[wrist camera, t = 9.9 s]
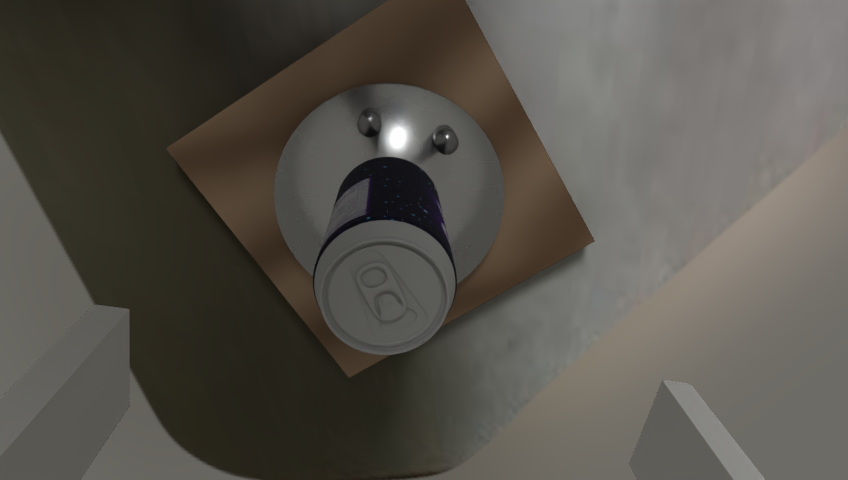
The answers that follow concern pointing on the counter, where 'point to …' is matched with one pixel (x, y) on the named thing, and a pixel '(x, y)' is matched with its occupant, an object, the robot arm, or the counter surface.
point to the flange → (390, 137)
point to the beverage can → (385, 259)
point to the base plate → (373, 63)
